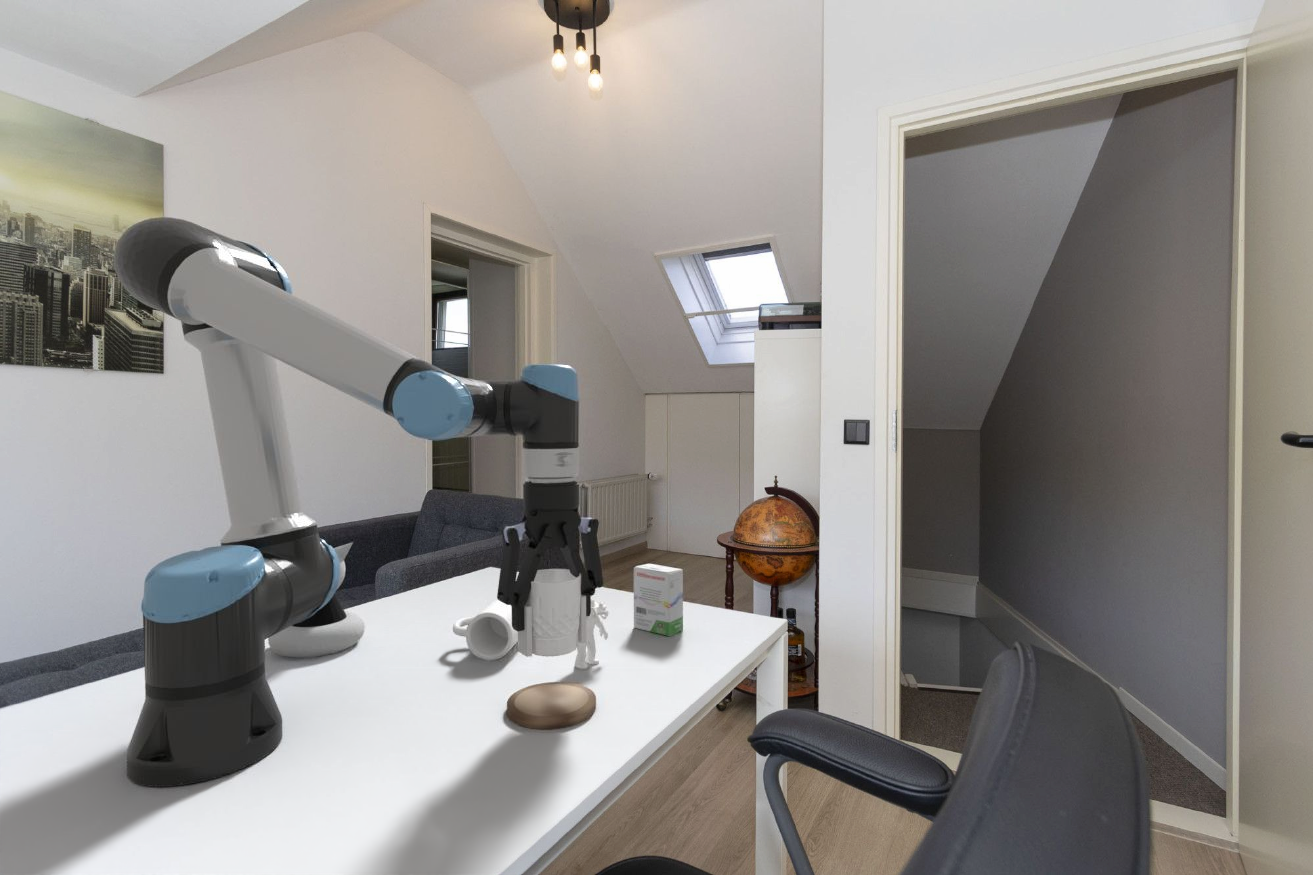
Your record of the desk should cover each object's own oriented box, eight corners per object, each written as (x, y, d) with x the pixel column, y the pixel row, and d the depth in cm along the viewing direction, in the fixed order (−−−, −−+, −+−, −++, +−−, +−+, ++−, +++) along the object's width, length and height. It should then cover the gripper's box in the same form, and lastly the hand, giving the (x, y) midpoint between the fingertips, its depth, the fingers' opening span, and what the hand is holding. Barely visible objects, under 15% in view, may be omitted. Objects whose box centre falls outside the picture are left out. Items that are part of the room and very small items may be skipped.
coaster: (531, 738, 80) (531, 728, 80) (492, 704, 90) (492, 695, 90) (612, 712, 87) (612, 703, 87) (568, 683, 97) (568, 674, 97)
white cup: (593, 647, 89) (593, 574, 88) (547, 663, 83) (546, 586, 82) (557, 634, 94) (557, 566, 94) (511, 648, 88) (510, 575, 88)
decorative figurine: (370, 629, 122) (369, 523, 121) (357, 657, 107) (356, 537, 107) (282, 636, 117) (280, 526, 117) (256, 666, 103) (254, 541, 103)
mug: (530, 641, 116) (530, 596, 115) (512, 661, 106) (512, 613, 105) (465, 638, 117) (465, 594, 117) (441, 658, 107) (441, 611, 107)
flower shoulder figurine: (598, 653, 109) (598, 583, 109) (614, 659, 106) (614, 587, 106) (556, 668, 103) (556, 593, 102) (572, 675, 100) (572, 598, 100)
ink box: (684, 630, 122) (684, 567, 121) (668, 637, 118) (669, 572, 117) (648, 621, 127) (648, 561, 126) (632, 628, 123) (632, 566, 122)
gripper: (490, 486, 78) (492, 673, 79) (629, 477, 91) (630, 638, 91) (467, 482, 84) (469, 655, 85) (600, 473, 97) (601, 625, 97)
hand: (552, 646), depth 88 cm, fingers closed on white cup, 7 cm apart
